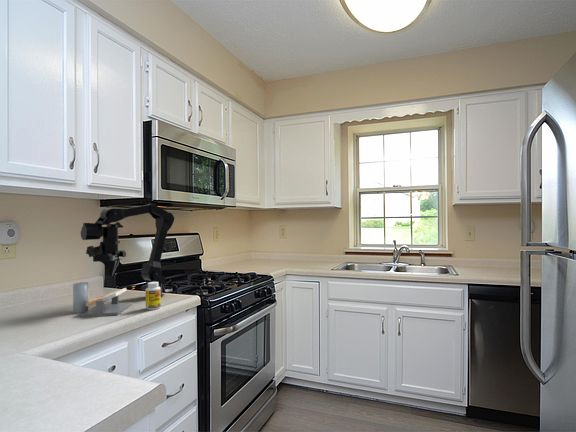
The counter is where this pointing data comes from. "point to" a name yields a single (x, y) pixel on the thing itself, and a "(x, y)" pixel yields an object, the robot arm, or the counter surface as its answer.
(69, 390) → the counter surface
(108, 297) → the two-tone square pad
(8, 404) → the counter surface
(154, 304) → the supplement bottle
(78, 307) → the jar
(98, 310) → the switch base
